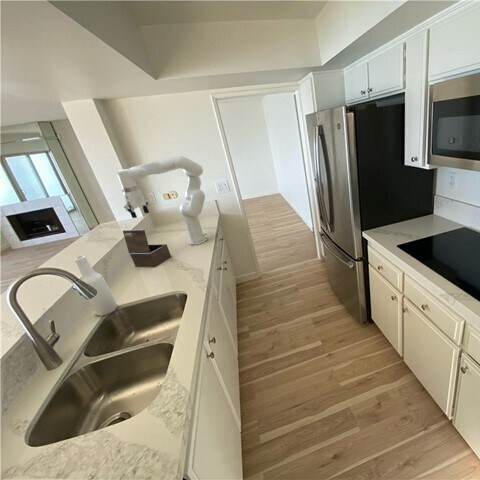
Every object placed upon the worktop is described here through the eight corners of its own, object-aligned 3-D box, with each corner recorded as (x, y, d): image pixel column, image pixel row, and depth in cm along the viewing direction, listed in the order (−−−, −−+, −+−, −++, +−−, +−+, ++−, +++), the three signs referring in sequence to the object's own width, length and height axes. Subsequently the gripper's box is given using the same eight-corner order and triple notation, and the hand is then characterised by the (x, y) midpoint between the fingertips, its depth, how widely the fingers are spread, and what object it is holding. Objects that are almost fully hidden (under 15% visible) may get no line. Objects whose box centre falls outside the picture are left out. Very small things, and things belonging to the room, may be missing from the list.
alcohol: (104, 306, 136) (77, 254, 124) (121, 303, 137) (96, 252, 125) (92, 317, 128) (61, 263, 116) (110, 314, 128) (82, 260, 117)
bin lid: (123, 230, 170) (116, 232, 166) (144, 229, 166) (137, 231, 162) (130, 252, 174) (122, 255, 170) (150, 252, 170) (143, 255, 166)
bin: (152, 256, 191) (147, 244, 187) (171, 256, 187) (166, 244, 183) (135, 266, 178) (129, 253, 174) (155, 266, 174) (150, 253, 170)
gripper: (123, 192, 158) (134, 219, 165) (146, 186, 173) (155, 211, 180) (113, 193, 160) (125, 219, 167) (137, 186, 175) (146, 211, 182)
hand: (141, 215), depth 173 cm, fingers open, 9 cm apart
